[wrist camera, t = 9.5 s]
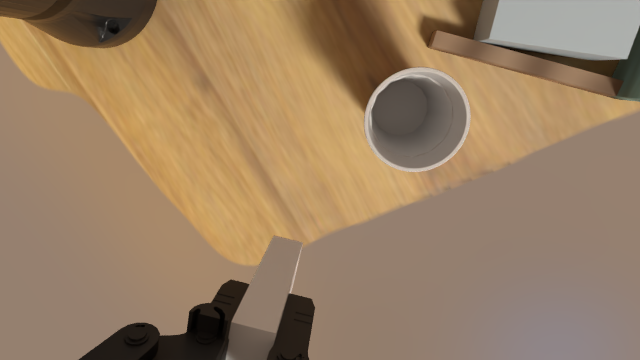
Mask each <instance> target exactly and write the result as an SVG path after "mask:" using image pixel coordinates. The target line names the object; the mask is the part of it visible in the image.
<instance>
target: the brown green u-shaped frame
mask: <svg viewBox="0 0 640 360" xmlns="http://www.w3.org/2000/svg"><path fill="white" fill-rule="evenodd" d="M428 48H431V49H435V50H439V51H442V52H446V53H450V54H453V55H457V56H461V57H464V58H468V59H472V60H475V61H479V62H483V63H486V64H490V65H494V66H497V67H501V68H505V69H508V70H512V71H516V72H519V73H523V74H527V75H530V76H534V77H538V78H541V79H545V80H549V81H552V82H556V83H560V84H563V85H567V86H571V87H574V88H578V89H581V90H585V91H589V92H592V93H596V94H600V95H603V96H607V97H611V98H614V99H620V100H630V101H639V102H640V26H639V29H638V32H637V34H636V37H635V39H634V42H633V45H632V47H631V50H630V53H629V55H628V58H627V59H620V61H619V63H618V65H617V67H616V69H615V71H614V73H613V75H612V77H607V76H604V75H600V74H596V73H593V72H589V71H585V70H582V69H578V68H574V67H571V66H567V65H563V64H560V63H556V62H552V61H549V60H545V59H541V58H538V57H534V56H530V55H527V54H523V53H519V52H516V51H512V50H508V49H504V48H501V47H497V46H493V45H490V44H486V43H482V42H479V41H475V40H471V39H468V38H464V37H460V36H457V35H453V34H449V33H446V32H442V31H438V30H436V31H434V32H433V33H432V36H431V39H430V42H429V45H428Z"/></svg>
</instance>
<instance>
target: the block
mask: <svg viewBox="0 0 640 360" xmlns="http://www.w3.org/2000/svg"><path fill="white" fill-rule="evenodd" d="M639 26H640V0H483V3H482V7H481V11H480V14H479V18H478V22H477V26H476V30H475V34H474V38H473V40H475V41H479V42H482V43H486V44H490V45H493V46H497V47H504V48H510V49H517V50H524V51H531V52H538V53H544V54H551V55H558V56H565V57H571V58H578V59H585V60H592V61H596V60H619V59H627V58H628V55H629V53H630V50H631V47H632V45H633V42H634V39H635V37H636V34H637V32H638V29H639Z"/></svg>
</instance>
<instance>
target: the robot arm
mask: <svg viewBox="0 0 640 360" xmlns="http://www.w3.org/2000/svg"><path fill="white" fill-rule="evenodd" d="M156 2H157V0H0V16H3V17H9V18H17V19H22V20H24V21H26V22H28V23H30V24H31V25H33V26H35V27H37V28H39V29H40V30H42V31H44V32H46V33H48V34H49V35H51V36H53V37H55V38H57V39H59V40H61V41H64V42H67V43H70V44H73V45H77V46H83V47H93V48H109V47H115V46H118V45H121V44H123V43H126V42H128V41H129V40H131V39H132V38H134V37H135V36H136V35H137V34H139V33H140V31H141V30H142V29H143V28H144V27H145V26H146V24H147V23H148V21H149V19H150V18H151V16H152V14H153V11H154V9H155V6H156ZM302 245H303V242H299V241H294V240H290V239H286V238H282V237H278V236H273V238H272V240H271V242H270V244H269V246H268V248H267V250H266V252H265V254H264V256H263V258H262V260H261V262H260V264H259V266H258V268H257V270H256V273H255V275H254V277H253V279H252V281H251V283H250V284H247V283H243V282H239V281H235V280H229V281H228V282H226V283H225V284H223V285H222V286H221V288H220V289H219V291H218V292H217V295H216V296H215V298H214V299H213V301H212V302H211V303H205V304H200V305H197V306H195V307H194V308H192V309H191V310H190V311H189V318H188V326H187V332H186V333H184V334H180V335H171V336H160V333H159V331H158V329H157V328H156V327H155V326H153V325H151V324H148V323H134V324H130V325H127V326H126V327H123V328H121V329H120V330H119V331H117V332H116V333H114V334H113V335H112V336H110V337H109V338H108V339H106V340H105V341H103V342H102V343H101V344H99V345H98V346H97V347H95V348H94V349H93V350H91V351H90V352H88V353H87V354H86V355H84V356H83V357H82V358H80V359H79V360H309V358H308V346H309V341H310V335H311V329H312V322H313V316H314V310H315V307H314V304H313V301H312V299H310V298H306V297H302V296H298V295H294V294H291V291H292V287H293V283H294V278H295V274H296V270H297V266H298V262H299V257H300V253H301V249H302Z"/></svg>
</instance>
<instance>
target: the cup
mask: <svg viewBox="0 0 640 360" xmlns="http://www.w3.org/2000/svg"><path fill="white" fill-rule="evenodd" d="M469 126H470V106H469V102H468V99H467V97H466V94H465V93H464V91H463V89H462V88H461V86H460V85H459V84H458V83H457V82H456V81H455V80H454V79H453V78H452V77H450V76H449V75H447V74H446V73H444V72H442V71H439V70H436V69H433V68H427V67H414V68H408V69H404V70H401V71H399V72H397V73H395V74H393V75H391V76H390V77H388V78H387V79H385V80H384V81H383V82H382V83H381V84H379V85H378V86H377V87H376V89H375V90H374V91H373V93H372V95H371V97H370V99H369V101H368V104H367V107H366V110H365V116H364V130H365V135H366V138H367V141H368V143H369V145H370V147H371V149H372V151H373V152H374V153H375V154H376V156H377V157H378V158H379V159H380V160H382V161H383V162H384V163H386V164H387V165H389V166H391V167H393V168H396V169H399V170H402V171H408V172H420V171H426V170H430V169H433V168H435V167H437V166H440V165H441V164H443V163H445V162H446V161H448V160H449V159H450V158H451V157H452V156H453V155H454V154H455V153H456V152H457V151H458V150H459V149H460V147H461V146H462V144H463V142H464V140H465V138H466V136H467V133H468V130H469Z"/></svg>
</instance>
